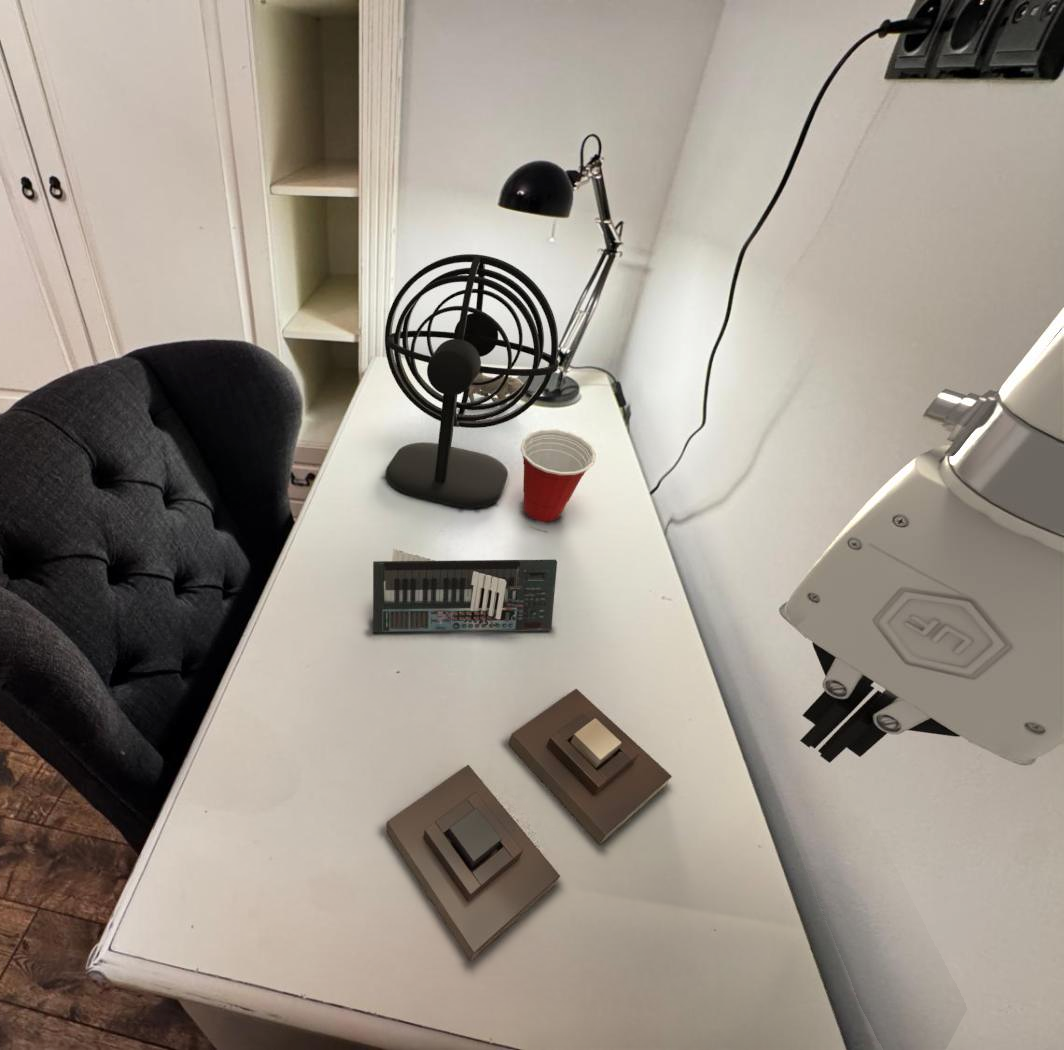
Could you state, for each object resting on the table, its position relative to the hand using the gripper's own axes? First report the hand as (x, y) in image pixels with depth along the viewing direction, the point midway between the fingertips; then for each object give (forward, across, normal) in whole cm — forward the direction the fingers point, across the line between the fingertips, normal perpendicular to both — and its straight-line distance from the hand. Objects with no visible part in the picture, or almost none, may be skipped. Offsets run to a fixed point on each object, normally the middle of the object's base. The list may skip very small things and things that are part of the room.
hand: (826, 738), depth 32 cm
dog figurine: (+27, -75, +51) cm, 95 cm away
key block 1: (+27, -12, -12) cm, 32 cm away
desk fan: (+27, -60, +26) cm, 71 cm away
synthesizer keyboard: (+27, -34, +6) cm, 44 cm away
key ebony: (+23, -12, -12) cm, 29 cm away
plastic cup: (+27, -44, +32) cm, 61 cm away
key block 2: (+27, -12, +4) cm, 30 cm away
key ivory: (+24, -12, +4) cm, 27 cm away
